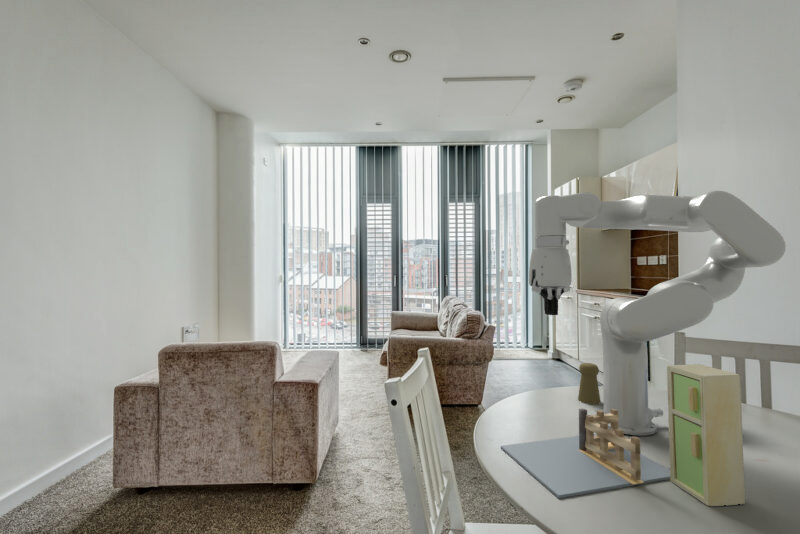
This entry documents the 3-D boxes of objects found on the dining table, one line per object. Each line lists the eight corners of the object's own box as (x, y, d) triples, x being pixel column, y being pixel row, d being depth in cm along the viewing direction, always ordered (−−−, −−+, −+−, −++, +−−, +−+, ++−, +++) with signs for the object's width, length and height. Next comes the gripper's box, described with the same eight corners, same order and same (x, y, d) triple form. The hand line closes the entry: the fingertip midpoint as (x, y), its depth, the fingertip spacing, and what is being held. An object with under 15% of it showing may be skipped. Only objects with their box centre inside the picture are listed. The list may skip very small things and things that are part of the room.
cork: (603, 405, 109) (603, 366, 109) (581, 403, 110) (580, 365, 110) (597, 398, 114) (596, 361, 115) (575, 397, 116) (575, 360, 116)
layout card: (601, 435, 88) (601, 432, 88) (682, 478, 69) (682, 475, 69) (500, 448, 82) (500, 445, 82) (560, 500, 63) (560, 496, 63)
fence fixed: (614, 445, 83) (613, 405, 83) (620, 448, 81) (619, 407, 81) (577, 450, 80) (577, 408, 81) (582, 454, 79) (582, 411, 79)
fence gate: (585, 450, 78) (584, 415, 79) (590, 449, 79) (589, 414, 79) (635, 480, 67) (634, 439, 67) (641, 479, 67) (640, 438, 67)
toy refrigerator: (664, 480, 69) (662, 364, 69) (702, 479, 69) (700, 363, 70) (703, 507, 61) (701, 376, 61) (745, 505, 61) (743, 375, 62)
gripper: (565, 245, 104) (566, 312, 104) (517, 244, 100) (517, 314, 100) (585, 243, 97) (586, 315, 96) (533, 242, 93) (534, 317, 93)
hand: (551, 314), depth 98 cm, fingers closed
